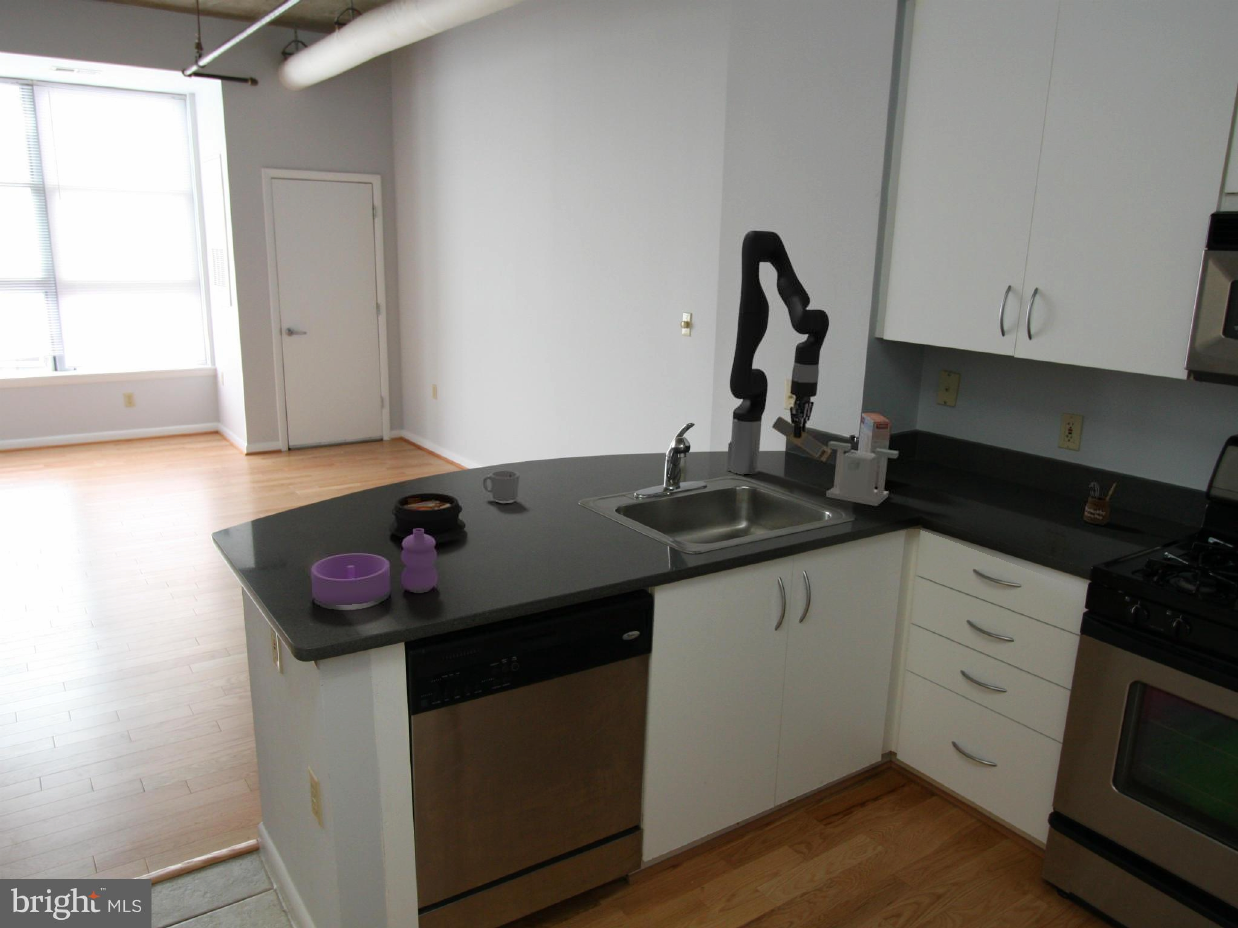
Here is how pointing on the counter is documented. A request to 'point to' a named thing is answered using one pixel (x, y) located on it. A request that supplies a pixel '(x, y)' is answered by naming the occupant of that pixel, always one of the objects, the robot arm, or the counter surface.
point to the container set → (373, 573)
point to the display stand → (859, 474)
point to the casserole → (428, 516)
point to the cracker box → (874, 436)
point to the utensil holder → (1097, 508)
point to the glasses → (804, 441)
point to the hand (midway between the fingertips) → (798, 436)
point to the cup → (503, 485)
